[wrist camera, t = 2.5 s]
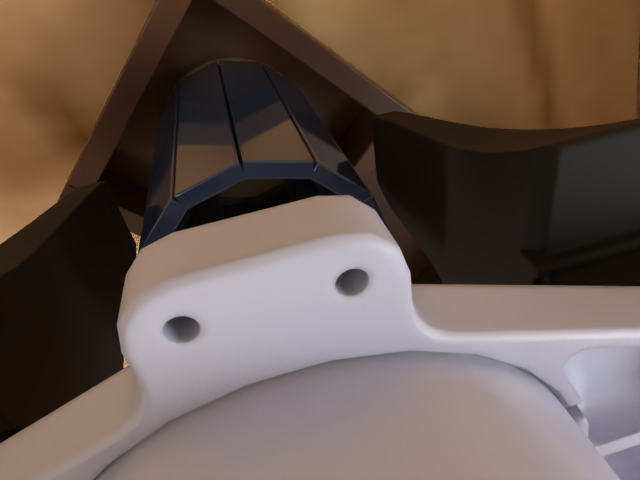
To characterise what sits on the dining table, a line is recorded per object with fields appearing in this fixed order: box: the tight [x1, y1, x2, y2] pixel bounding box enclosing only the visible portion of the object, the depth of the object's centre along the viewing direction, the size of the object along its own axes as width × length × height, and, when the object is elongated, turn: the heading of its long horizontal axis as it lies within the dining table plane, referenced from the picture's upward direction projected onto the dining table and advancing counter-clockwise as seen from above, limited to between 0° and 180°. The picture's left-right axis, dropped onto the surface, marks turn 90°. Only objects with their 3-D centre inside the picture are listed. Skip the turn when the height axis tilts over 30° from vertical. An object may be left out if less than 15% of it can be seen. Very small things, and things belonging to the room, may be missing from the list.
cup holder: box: [58, 0, 444, 284], centre depth 17 cm, size 8×15×2 cm, turn 55°
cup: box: [138, 58, 389, 254], centre depth 13 cm, size 5×5×8 cm
